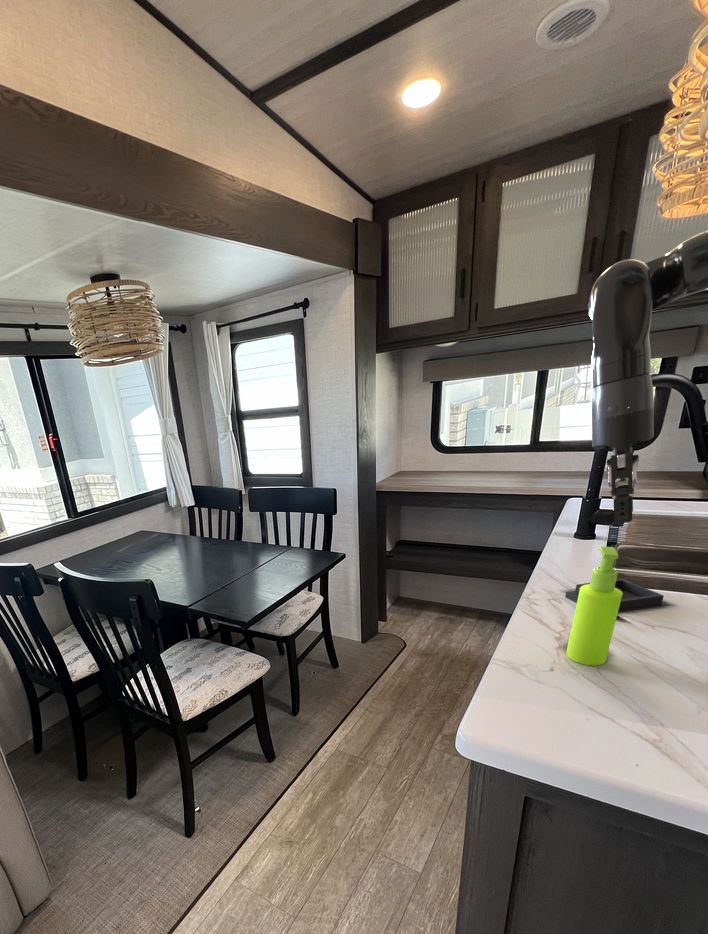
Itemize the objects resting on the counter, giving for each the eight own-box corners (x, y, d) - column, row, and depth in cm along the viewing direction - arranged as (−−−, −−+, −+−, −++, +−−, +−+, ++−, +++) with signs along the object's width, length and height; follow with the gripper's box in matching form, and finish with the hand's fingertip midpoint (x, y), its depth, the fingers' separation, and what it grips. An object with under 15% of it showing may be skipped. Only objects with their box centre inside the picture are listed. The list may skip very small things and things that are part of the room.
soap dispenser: (601, 648, 86) (626, 544, 78) (608, 667, 80) (636, 558, 72) (563, 644, 88) (584, 543, 80) (568, 662, 83) (591, 556, 75)
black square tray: (621, 589, 108) (624, 576, 106) (669, 610, 97) (674, 596, 95) (565, 596, 106) (567, 583, 105) (607, 619, 95) (610, 605, 94)
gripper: (654, 404, 64) (655, 522, 67) (652, 406, 74) (653, 508, 78) (587, 419, 68) (592, 528, 72) (594, 419, 79) (598, 514, 82)
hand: (624, 517), depth 75 cm, fingers open, 8 cm apart
